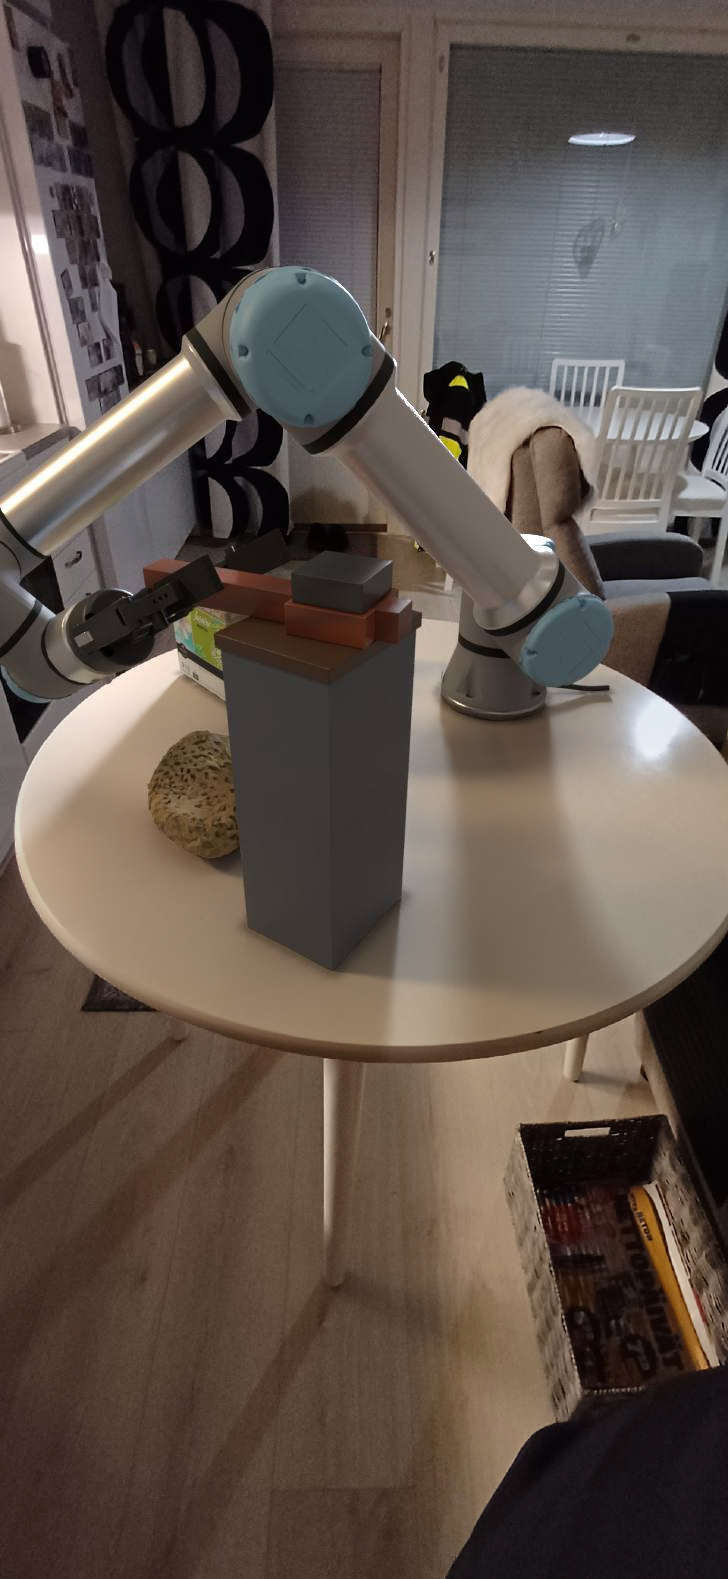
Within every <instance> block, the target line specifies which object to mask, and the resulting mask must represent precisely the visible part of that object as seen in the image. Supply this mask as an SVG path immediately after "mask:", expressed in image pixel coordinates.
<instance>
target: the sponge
mask: <svg viewBox="0 0 728 1579" xmlns="http://www.w3.org/2000/svg"><path fill="white" fill-rule="evenodd" d="M146 786H147V789H148V791H147V796H148V810H149V811H150V813H151V816H152V819H153V825H156V826H157V829H158V830H159V832H161V833H162V834H164V835H165V836H166V838H167V839H169V840H171V841H174V842H175V843H176V844H177V845H178V846H180V847H182V848H183V850H185V851H187V852H188V853H190V854H192V855H194V856H200V857H202V858H203V859H214V858H220V857H222V856H225V855H229V854H230V853H232V852H233V851H235V850H236V849H237V848H238V847H240V843H239V832H238V822H237V812H236V802H235V791H234V781H233V771H232V761H231V750H230V740H229V736H227V735H225V734H220V733H214V732H211V731H209V730H208V729H207V730H195V731H191V732H188V733H187V734H186V735H184V736H182V737H181V738H180V739H179V740H178V741H177V742H176V743H174V744H173V745H172V746H170V747H169V748H168V750H167V752H166V754H164V755H163V756H162V759H161V760H160V761H159V762H158V765H157V766H156V768H155V769H154V772H153V773H152V776H151V778H150V780H149V782H148V783H147V785H146Z"/></svg>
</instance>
